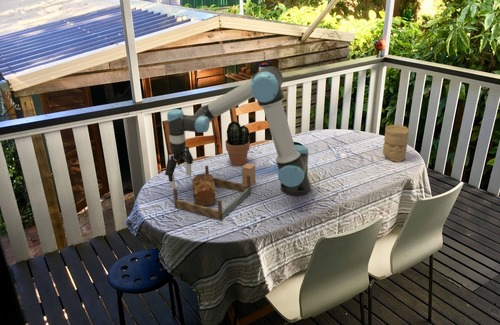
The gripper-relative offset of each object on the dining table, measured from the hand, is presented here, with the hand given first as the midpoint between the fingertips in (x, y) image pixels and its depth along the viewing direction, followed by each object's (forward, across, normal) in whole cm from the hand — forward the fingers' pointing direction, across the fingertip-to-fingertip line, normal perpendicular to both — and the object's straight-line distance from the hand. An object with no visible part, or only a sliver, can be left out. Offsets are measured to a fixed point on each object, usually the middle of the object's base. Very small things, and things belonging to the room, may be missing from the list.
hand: (180, 180), depth 225 cm
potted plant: (+6, -43, +8) cm, 44 cm away
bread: (+7, -1, +13) cm, 15 cm away
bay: (+6, 0, +20) cm, 21 cm away
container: (+5, -87, +86) cm, 123 cm away
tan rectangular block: (+6, -23, +26) cm, 35 cm away
